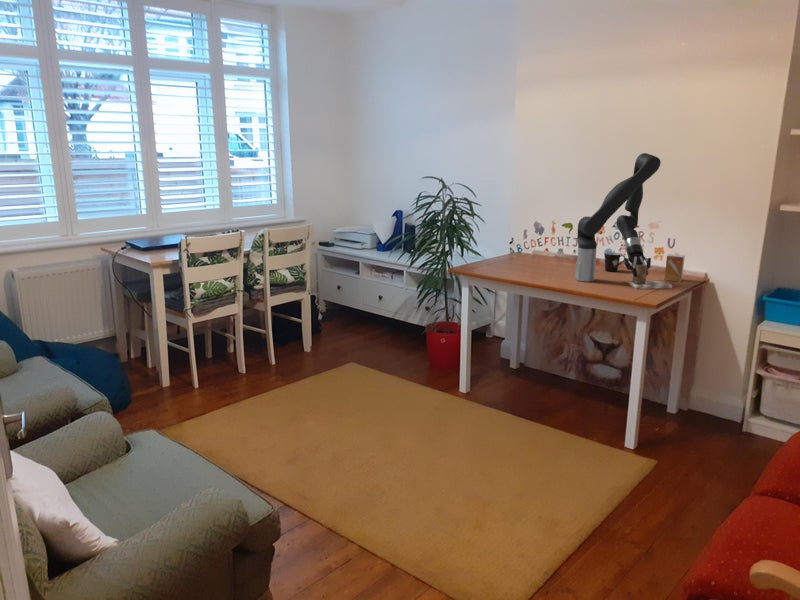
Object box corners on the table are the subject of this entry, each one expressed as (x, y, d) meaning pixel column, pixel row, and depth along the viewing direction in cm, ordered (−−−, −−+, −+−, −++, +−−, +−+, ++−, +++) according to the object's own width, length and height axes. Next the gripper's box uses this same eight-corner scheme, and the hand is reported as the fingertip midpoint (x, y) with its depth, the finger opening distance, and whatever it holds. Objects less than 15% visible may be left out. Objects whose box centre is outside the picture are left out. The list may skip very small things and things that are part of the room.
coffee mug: (603, 272, 347) (605, 254, 345) (602, 269, 355) (603, 251, 353) (625, 273, 345) (627, 255, 342) (624, 269, 353) (625, 252, 350)
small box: (664, 280, 326) (666, 255, 323) (665, 277, 332) (668, 253, 328) (680, 281, 322) (683, 257, 319) (682, 279, 328) (684, 255, 324)
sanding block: (636, 284, 311) (637, 266, 308) (632, 282, 315) (634, 264, 313) (645, 284, 311) (646, 266, 308) (641, 281, 315) (642, 264, 313)
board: (636, 288, 308) (636, 285, 308) (628, 284, 318) (628, 281, 318) (672, 288, 308) (672, 285, 308) (663, 283, 318) (663, 280, 318)
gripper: (622, 243, 315) (629, 272, 307) (650, 243, 316) (658, 271, 307) (617, 252, 322) (624, 280, 313) (644, 251, 322) (652, 279, 313)
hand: (641, 275), depth 310 cm, fingers closed on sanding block, 4 cm apart
